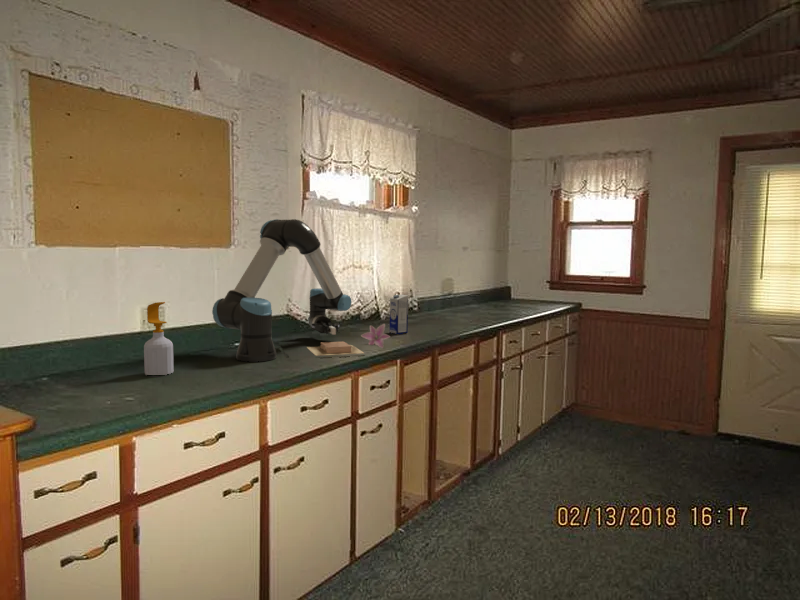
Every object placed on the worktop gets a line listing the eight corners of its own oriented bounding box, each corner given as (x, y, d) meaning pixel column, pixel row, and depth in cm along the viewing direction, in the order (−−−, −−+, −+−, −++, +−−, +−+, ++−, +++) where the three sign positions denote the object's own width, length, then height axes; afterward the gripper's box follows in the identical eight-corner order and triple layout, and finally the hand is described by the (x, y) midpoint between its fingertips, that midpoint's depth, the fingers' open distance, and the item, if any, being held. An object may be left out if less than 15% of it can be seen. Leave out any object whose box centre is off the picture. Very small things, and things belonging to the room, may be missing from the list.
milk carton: (407, 333, 288) (408, 295, 286) (396, 334, 284) (397, 295, 282) (400, 331, 294) (400, 294, 292) (389, 332, 290) (389, 294, 288)
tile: (320, 348, 235) (326, 353, 224) (320, 342, 235) (326, 347, 224) (343, 347, 239) (351, 352, 227) (343, 341, 238) (351, 346, 227)
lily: (357, 348, 251) (357, 331, 246) (373, 335, 259) (374, 318, 254) (378, 359, 246) (379, 342, 240) (394, 345, 254) (395, 328, 248)
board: (315, 358, 220) (315, 355, 220) (306, 349, 239) (306, 347, 239) (364, 356, 227) (364, 353, 227) (351, 347, 246) (351, 344, 245)
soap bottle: (155, 377, 184) (153, 303, 182) (139, 374, 189) (137, 302, 187) (179, 372, 192) (177, 301, 190) (162, 369, 197) (161, 300, 195)
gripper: (335, 331, 261) (348, 339, 239) (307, 332, 257) (318, 340, 235) (335, 315, 260) (349, 322, 238) (307, 316, 256) (318, 323, 234)
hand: (334, 331), depth 236 cm, fingers closed
